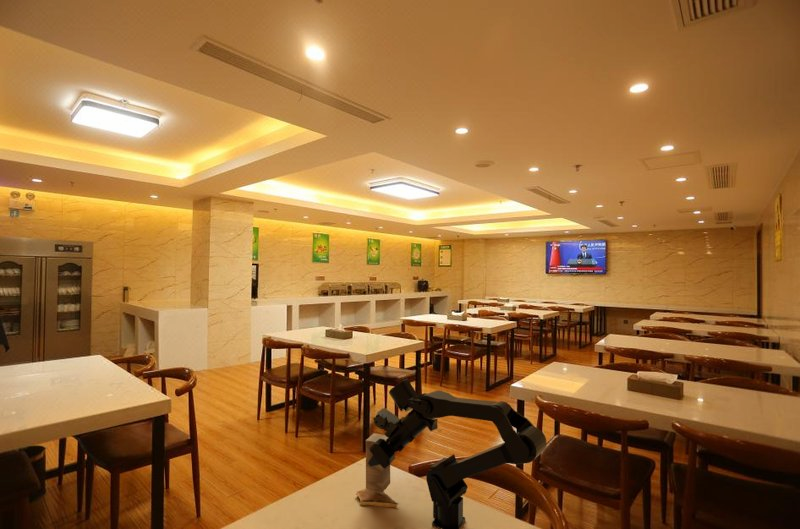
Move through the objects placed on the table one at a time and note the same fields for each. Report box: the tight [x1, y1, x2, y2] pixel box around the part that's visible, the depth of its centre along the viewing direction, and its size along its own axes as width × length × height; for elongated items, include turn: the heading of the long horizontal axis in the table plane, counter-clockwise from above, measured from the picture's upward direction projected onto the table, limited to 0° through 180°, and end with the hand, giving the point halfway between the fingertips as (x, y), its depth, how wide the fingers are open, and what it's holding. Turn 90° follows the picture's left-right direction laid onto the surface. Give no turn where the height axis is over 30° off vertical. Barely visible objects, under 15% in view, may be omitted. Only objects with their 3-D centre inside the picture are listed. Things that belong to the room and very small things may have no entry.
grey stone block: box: [365, 433, 391, 493], centre depth 107 cm, size 5×5×13 cm
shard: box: [355, 488, 399, 508], centre depth 105 cm, size 11×8×2 cm
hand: (373, 460), depth 108 cm, fingers closed on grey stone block, 5 cm apart
